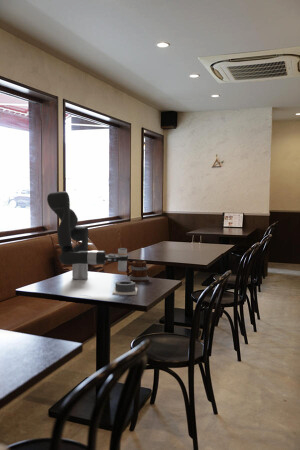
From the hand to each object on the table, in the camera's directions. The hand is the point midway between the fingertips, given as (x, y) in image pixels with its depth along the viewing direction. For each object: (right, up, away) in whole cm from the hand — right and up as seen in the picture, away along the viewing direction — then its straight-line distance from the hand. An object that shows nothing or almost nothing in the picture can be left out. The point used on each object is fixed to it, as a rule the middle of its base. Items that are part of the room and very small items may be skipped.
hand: (127, 258), depth 227 cm
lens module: (-3, -7, +1) cm, 7 cm away
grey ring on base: (-1, -19, +2) cm, 19 cm away
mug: (+4, -17, +33) cm, 37 cm away
